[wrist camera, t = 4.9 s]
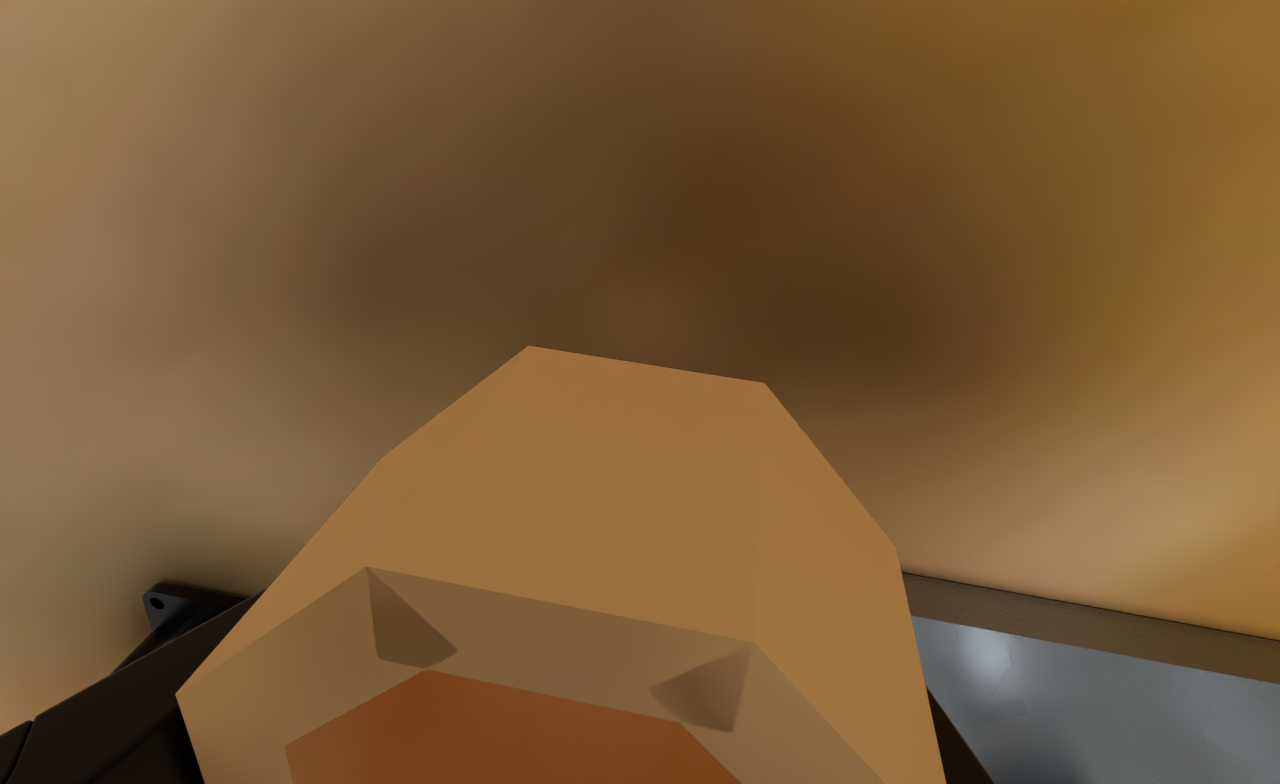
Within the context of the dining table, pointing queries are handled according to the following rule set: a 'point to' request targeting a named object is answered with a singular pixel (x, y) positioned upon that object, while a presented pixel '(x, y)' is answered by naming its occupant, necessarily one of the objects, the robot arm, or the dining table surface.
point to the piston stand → (1096, 690)
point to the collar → (581, 604)
